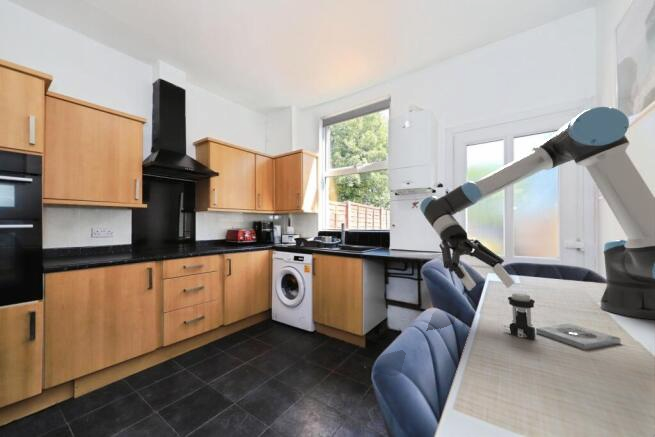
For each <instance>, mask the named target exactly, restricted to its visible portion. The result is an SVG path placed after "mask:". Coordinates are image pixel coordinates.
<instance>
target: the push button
mask: <svg viewBox="0 0 655 437" xmlns="http://www.w3.org/2000/svg"><path fill="white" fill-rule="evenodd" d="M507 300H508V304H509V305H510V306H512V320H511V323H510V324H509V325H506V324H505V325H503V327H504V329H503V330H504V331H506V332H510V333H509V334H511V335H513V336H515V337H516V336H517V337H518V338H523V339H527V340H529V341H534V340H535V339H536V327H535V326H534V325H533V323H532V314H531V313H532V312H531V310H532V308H534V306H535V305H534V304H535V302H536V301H535V300H534V299H533V298H532V299H531V296H530V295H528V294H525V293H524V294H523V293H512V294H511V296H508V297H507ZM506 328H509V329H506Z"/></svg>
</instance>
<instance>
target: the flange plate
mask: <svg viewBox="0 0 655 437" xmlns="http://www.w3.org/2000/svg"><path fill="white" fill-rule="evenodd" d="M535 334H539V335H541V336H543V337H547V338H550V339H552V340H556V341H559V342H560V343H564V344H567V345H570V346H573V347H575V348H578V349H581V350H584V351H589V350H595V349H600V348H602V347H603V348H604V347H608V346H615V345H620V344H621V343H622V341H621V337H619V336H613V335H611V334H607V333H604V332H600V331H596V330H593V329H590V328H586V327H583V326H578V325H575V324H571V323H564V324H555V325H549V326H543V327H535Z"/></svg>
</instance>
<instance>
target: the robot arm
mask: <svg viewBox="0 0 655 437" xmlns="http://www.w3.org/2000/svg"><path fill="white" fill-rule="evenodd" d="M629 127H630V122H629V118H628V116H627V115H626V114H625V113H624V112H623V111H621V110H619V109H617V108H615V107H607V106H598V107H593V108H592V107H591V108H589V109H587V110H584V111H583V112H581V113H579V114H578V115H576V116H574V117H573V118H571V120H569V122H567V123H566V124H565V125H563V126H562V127H561V128H559V129H558V130H557V131H555V132H554V134H552V135H551V136H550V137H548V138H547V139H545V140H544V141H543V142H542V143H540V144H537V146H534V147H533V148H532V150H531V152H528V153H526V154H525V155H523V156H521V157H519V158H517V159H516V160H513V161H512V162H509V163H508V164H506V165H504V166H503V167H500V168H499V169H496V170H495V171H493V172H491V173H489V174H487V175H485V176H483V177H481V178H480V179H478V180H476V181H472V180H469V181H466V182H465V183H462V184H460V185H459V186H458V187H456V188H454V189H453V190H451V191H449V192H448V193H446V194H445V195H442V196H441V197H437V196H435V195H431V196H427V197H426V198H424V199H423V200H422V201H421V203H420V206H419V209H420V211H421V213H422V215H423V216H424V217H425V218H424V219H426V220H427V221H428V223H429V225H430V226H431V228H433V230H434V231H435V232H436V233H437V236H438V237H439V239H440V240H441V242H440V244H439V248H440V249H441V254H442V263H443V267H444V269H446V270H447V269H448V270H449V272H451V273H453V272H454V274H455V275H456V277H457V278H458V279H459V280H461V282H462V284H463V285H464V287H465V288H466V290H467V291H472V290H473V289H474V288H475V287H476V285H477V284H476V282H475V280H474V279H473V278H472V277H471V276H470V274H469V272H468V271H467V270H466V268H465V267H464V266H463V264H459V263H460V258H461V256H464V255H465V256H470V257H472V258H473V257H474V258H476V259H477V260H479V261H481V262H483V263H485V264H486V265H488V266H489V267H491V270H492V271H493V272H494V274H495V275H496V276H497V277H498V279H499V280H500V281H501V283H502V284H504V286H505V287H506V288H507V289H508V288H510V287H512V285H514V284H515V283H516V280H514V278H513V277H511V275H510V274H509V273H508V271H507V270H506V269H505V267H503V266H504V265H502V264H503V263H504V262H505V260H504V259H503V258H502V257H500V256H499V255H498V254H496V253H495V252H494V251H492V250H491V249H489V248H488V247H486V246H485V245H484V244H482V243H481V242H480V241H479V240H478V239H475V240H474V241H471V240H470V239H469V238H468V232H467V231H466V230H465V229H464V228H463V226H462V225H461V224H460V222H459V221H458V220H457V219H456V218H455V217H454V215H456V214H457V213H460V212H462V211H464V210H466V209H468V208H469V207H472V206H473V205H475V204H478V203H479V202H481V201H483V200H485V199H488V198H490V197H491V196H493V195H496V194H497V193H500V192H501V191H503V190H505V189H507V188H509V187H511V186H513V185H515V184H517V183H519V182H522V181H523V180H525V179H527V178H529V177H532V176H534V175H535V174H537V173H539V172H541V171H544V170H545V171H549V170H552V169H555V168H556V167H558V166H561V165H563V164H566V163H569V162H571V161H574V163H575V164H576V165H578V166H583V167H585V168H586V169H587V172H588V174H589V175H590V177H591V178H592V180H593V182H594V183H595V185H596V187H597V188H598V190H599V192H600V193H601V195H602V197H603V199H604V200H605V201H606V204H607V205H608V206H609V208H610V210H611V211H612V214H614V217H615V219H616V221H617V222H618V224H619V226H620V228H621V229H622V231H623V232H624V234H625V236H626V237H627V239H617V240H616V239H615V240H609V241H607V242H605V243H604V246H603V247H604V248H603V255H604V265H605V266H604V267H605V276H606V279H605V280H606V287H605V289H604V291H603V294H602V297H601V299H600V302H599V303H600V308H601V309H602V310H604V311H606V312H609V313H614V314H617V315H621V316H627V317H632V318H639V319H647V320H655V196H654V195H653V194H654V193H652V191H651V190H650V188H649V186H648V185H647V183H646V182H645V180H644V179H643V177H642V175H641V174H640V172H639V170H638V169H637V167H636V166H635V164H634V162H633V161H632V159H631V158H630V156H629V155H628V153H627V151H626V150H627V148H628V147H629V146H630V141H629V140H628V137H626V133H627V132H628V129H629ZM451 250H452V251H451ZM451 253H452V254H451Z"/></svg>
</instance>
